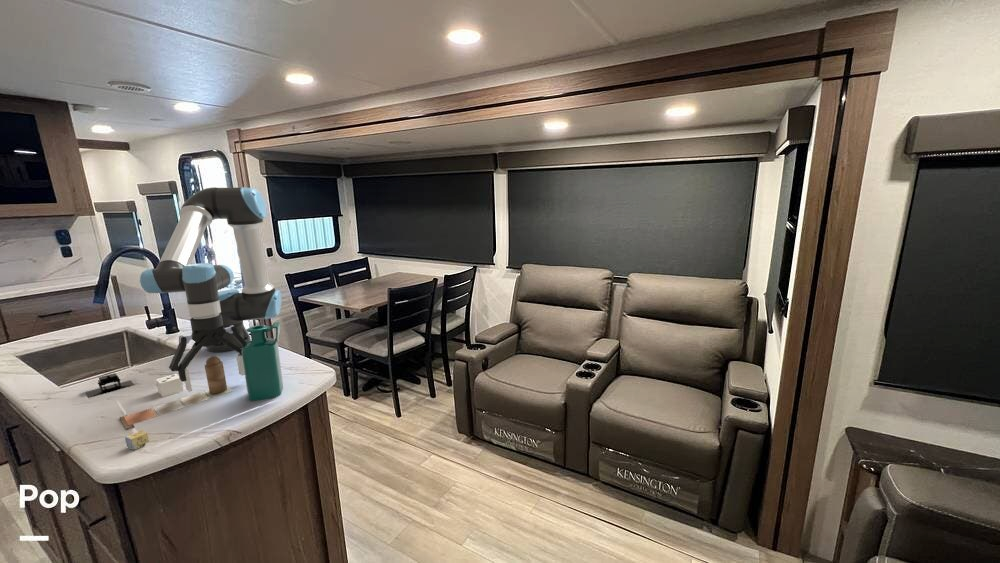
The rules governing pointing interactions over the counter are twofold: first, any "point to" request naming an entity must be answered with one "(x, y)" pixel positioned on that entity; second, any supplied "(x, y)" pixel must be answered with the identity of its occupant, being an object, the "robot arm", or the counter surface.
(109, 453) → the counter surface
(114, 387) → the black piece
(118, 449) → the counter surface
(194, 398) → the game board
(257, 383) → the green plastic tall bottle
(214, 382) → the wooden domed cylinder
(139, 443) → the alphabet block
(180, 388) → the die
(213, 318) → the robot arm
